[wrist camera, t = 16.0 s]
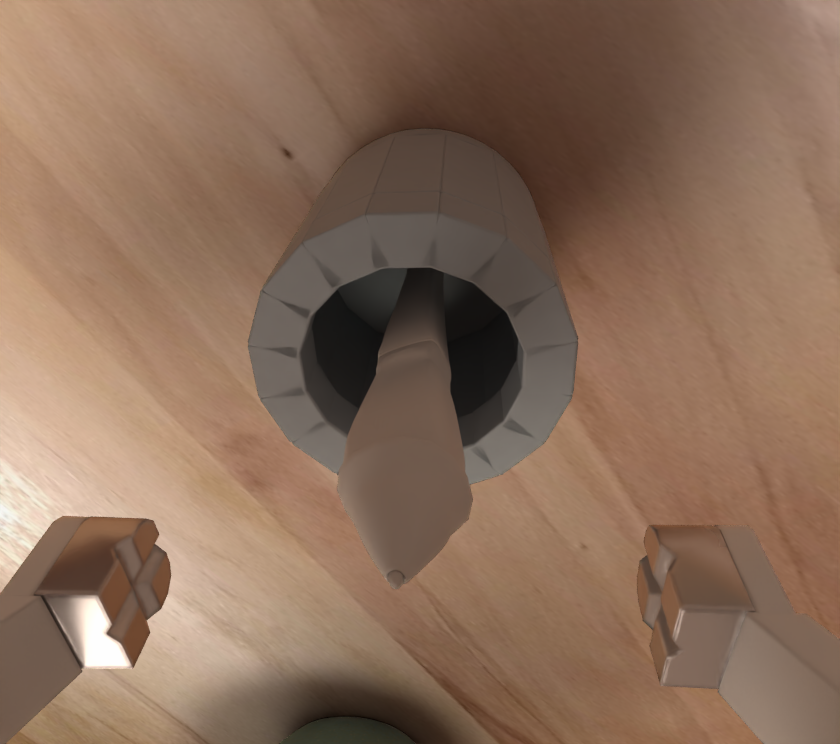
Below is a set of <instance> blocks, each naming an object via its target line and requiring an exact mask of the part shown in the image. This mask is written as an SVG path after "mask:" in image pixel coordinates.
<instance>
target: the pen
mask: <svg viewBox="0 0 840 744" xmlns="http://www.w3.org/2000/svg"><path fill="white" fill-rule="evenodd" d="M450 382H451V369H450V363H449V356H448V347H447V337H446V326H445V311H444V275H443V272H441V271H438V270H435V269H433V268H430V267H429V268H408V269H407V274H406V277H405V280H404V283H403V285H402V288H401V291H400V294H399V297H398V300H397V303H396V306H395V308H394V310H393V313H392V315H391V318H390V320H389V322H388V325H387V327H386V331H385V334H384V338H383V342H382V344H381V347H380V349H379V351H378V363H377V368H376V376H375V378H374V380H373V382H372V384H371V386H370V388H369V390H368V392H367V394H366V396H365V398H364V400H363V402H362V404H361V406H360V409H359V411H358V413H357V415H356V417H355V419H354V421H353V424H352V426H351V428H350V431H349V433H348V436H347V442H346V446H345V453H344V460H343V464H342V465H341V467H340V468H339V474H338V486H337V491H338V494H339V496H340V499H341V501H342V504H343V506H344V509H345V511H346V513H347V514H348V515H349V517H350V518H351V520H352V522H353V523H354V525H355V527H356V529H357V531H358V533H359V536H360V538H361V540H362V542H363V544H364V546H365V548H366V550H367V552H368V554H369V555H370V557H371V559H372V560H373V562H374V563H375V565H376V566H377V568H378V569H379V571H380V572H381V574H382V575H383V576H384V578H385V579H386V580H387V581H388V582H389V584H390V586H391V587H392V588H393V589H399V588H400V587H401V586H402V585H403V584H405V583H407V582H408V581H410V580H411V579H412V578H413V577H414V576H415V575H416V574H418V573H419V572H420V571H421V570H422V569H423V568H424V567H425V566H426V565H427V564H428V563H429V562H430V561H431V560H432V559H433V558H434V557H435V556H436V555H437V554H438V553H439V552H440V551H441V550H442V548H443V547H444V546H445V544H446V543H447V541H448V539H449V538H450V536H451V535H452V534H453V533H454V532H455V531H456V530H457V529H458V528H460V527H461V526H462V525H463V524H464V523H465V522H466V521H467V520H468V519H469V515H470V510H471V506H472V502H473V497H472V493H471V489H470V485H469V481H468V477H467V475H466V473H465V459H464V451H463V446H462V440H461V435H460V430H459V425H458V420H457V415H456V411H455V407H454V403H453V399H452V396H451V393H450Z"/></svg>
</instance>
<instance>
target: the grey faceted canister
mask: <svg viewBox="0 0 840 744" xmlns="http://www.w3.org/2000/svg"><path fill="white" fill-rule="evenodd" d="M429 267H430V268H433V269H435V270H438V271H441V272H443V275H444V311H445V326H446V337H447V347H448V356H449V363H450V369H451V382H450V393H451V396H452V399H453V403H454V407H455V411H456V415H457V420H458V425H459V430H460V435H461V440H462V446H463V451H464V459H465V473H466V475H467V477H468V481H469V485H470V484H473V483H477V482H480V481H483V480H486V479H490V478H493V477H496V476H498V475H499V474H500V475H502V474H504V473H505V472H506V471H508V470H509V469H510V468H512V467H513V466H514V465H516V464H517V463H518V462H520V461H521V460H523V459H524V458H525V457H527V456H528V455H529V454H531V453H532V452H533V451H535V450H536V449H537V448H539V447H540V446H541V445H543V444H544V442H546V440H547V439H548V437H549V435H550V434H551V432H552V430H553V429H554V427H555V425H556V424H557V422H558V420H559V419H560V417H561V415H562V414H563V412H564V410H565V409H566V407H567V405H568V404H569V402H570V400H571V399H572V394H573V391H574V381H575V370H576V360H577V350H578V336H577V333H576V330H575V327H574V323H573V320H572V317H571V314H570V311H569V308H568V304H567V301H566V298H565V295H564V292H563V289H562V285H561V282H560V279H559V276H558V273H557V269H556V266H555V263H554V260H553V257H552V254H551V250H550V247H549V244H548V241H547V238H546V234H545V231H544V228H543V226H542V223H541V220H540V218H539V215H538V213H537V210H536V207H535V203H534V200H533V198H532V196H531V194H530V191H529V189H528V187H527V186H526V184H525V183H524V181H523V180H522V178H521V176H520V175H519V174H518V172H517V171H516V170H515V169H514V168H513V167H512V165H511V164H510V163H509V162H508V161H507V160H506V159H504V158H503V157H502V156H501V155H500V154H499V153H498V152H496V151H495V150H493V149H492V148H490V147H488V146H487V145H485V144H484V143H482V142H480V141H478V140H476V139H473V138H471V137H469V136H466V135H463V134H460V133H456V132H453V131H447V130H441V129H423V128H422V129H412V130H404V131H400V132H396V133H392V134H389V135H387V136H384V137H382V138H379V139H377V140H375V141H373V142H371V143H369V144H368V145H366V146H364V147H362V148H361V149H360V150H358V151H357V152H356V153H355V154H353V155H352V156H351V157H350V158H349V159H348V160H347V161H346V162H345V163H344V164H343V165H342V166H341V167H340V168H339V169H338V171H337V172H336V173H335V175H334V176H333V177H332V179H331V180H330V182H329V183H328V184H327V186H326V187H325V188H324V189H323V190H322V192H321V193H320V195H319V196H318V198H317V199H316V201H315V203H314V204H313V206H312V208H311V209H310V211H309V212H308V214H307V216H306V217H305V219H304V221H303V222H302V224H301V225H300V227H299V229H298V230H297V232H296V234H295V235H294V237H293V238H292V240H291V242H290V243H289V245H288V247H287V248H286V250H285V251H284V253H283V255H282V256H281V258H280V260H279V261H278V263H277V264H276V266H275V268H274V269H273V271H272V273H271V274H270V276H269V277H268V279H267V281H266V282H265V284H264V286H263V288H262V290H261V292H260V296H259V299H258V303H257V307H256V311H255V315H254V319H253V323H252V327H251V331H250V335H249V339H248V349H249V354H250V359H251V363H252V368H253V373H254V377H255V382H256V387H257V391H258V396H259V398H260V400H261V402H262V403H263V404H264V406H265V407H266V409H267V410H268V411H269V413H270V414H271V416H272V417H273V419H274V420H275V421H276V423H277V424H278V426H279V427H280V428H281V430H282V431H283V433H284V434H285V435H286V437H287V438H288V440H289V441H290V442H292V443H293V444H294V445H295V446H296V447H298V448H299V449H301V450H302V451H303V452H305V453H306V454H308V455H309V456H311V457H312V458H314V459H315V460H316V461H318V462H319V463H321V464H322V465H324V466H325V467H326V468H328V469H329V470H331V471H332V472H334V473H337V475H338V474H339V468H340V467H341V465H342V464H343V460H344V453H345V446H346V442H347V436H348V433H349V431H350V428H351V426H352V424H353V421H354V419H355V417H356V415H357V413H358V411H359V409H360V406H361V404H362V402H363V400H364V398H365V396H366V394H367V392H368V390H369V388H370V386H371V384H372V382H373V380H374V378H375V376H376V368H377V363H378V351H379V349H380V347H381V344H382V342H383V338H384V334H385V331H386V327H387V325H388V322H389V320H390V318H391V315H392V313H393V310H394V308H395V306H396V303H397V300H398V297H399V294H400V291H401V288H402V285H403V283H404V280H405V277H406V274H407V269H408V268H429Z"/></svg>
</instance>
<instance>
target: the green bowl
mask: <svg viewBox="0 0 840 744" xmlns="http://www.w3.org/2000/svg"><path fill="white" fill-rule="evenodd" d="M280 744H415V743H414V742H413V741H412V740H411V739H410V738H409V737H408V736H407V735H406V734H404V733H403V732H401V731H400V730H398V729H396V728H394V727H392V726H390V725H387V724H385V723H382V722H379V721H375V720H371V719H366V718H360V717H331V718H325V719H320V720H317V721H314V722H311V723H309V724H307V725H305V726H303V727H301V728H300V729H298V730H296V731H295V732H293V733H292V734H291V735H290V736H288V737H287V738H286V739H284V740H283V741H282V742H281V743H280Z"/></svg>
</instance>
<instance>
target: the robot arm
mask: <svg viewBox="0 0 840 744" xmlns="http://www.w3.org/2000/svg"><path fill="white" fill-rule="evenodd" d="M158 536H159V532H158V530H157V528H156V525H155V523H154V521H153V520H149V519H140V518H115V517H77V516H62V517H60V518H59V519H57V520H55V521H54V522H53V523H52V524H51V525H50V527H49V528H48V529H47V531H46V532H45V534H44V535H43V536H42V538H41V539H40V540H39V542H38V543H37V544H36V546H35V547H34V549H33V550H32V551H31V553H30V554H29V555H28V557H27V558H26V559H25V561H24V562H23V564H22V565H21V566H20V568H19V569H18V570H17V572H16V573H15V574H14V576H13V577H12V578H11V580H10V581H9V583H8V584H7V585H6V587H5V588H4V589H3V591H2V592H1V593H0V744H6V743H7V742H8V741H9V740H10V739H11V738H12V737H13V736H14V735H15V734H16V733H17V732H18V731H19V730H21V729H22V728H23V727H24V726H25V725H26V724H27V723H28V722H29V721H30V720H31V719H32V718H33V717H34V716H36V715H37V714H38V713H39V712H40V711H41V710H42V709H43V708H44V707H45V706H46V705H47V704H48V703H49V702H50V701H52V700H53V699H54V698H55V697H56V696H57V695H58V694H59V693H60V692H61V691H62V690H63V689H64V688H65V687H67V686H68V685H69V684H70V683H71V682H72V681H73V680H74V679H75V678H76V677H77V676H78V675H79V674H80V673H81V672H82V669H133V668H134V666H135V663H136V661H137V659H138V657H139V655H140V653H141V651H142V649H143V647H144V644H145V642H146V640H147V638H148V636H149V634H150V630H149V626H148V623H147V620H148V619H149V618H150V617H151V616H153V615H154V614H155V613H156V612H158V611H159V610H160V609H161V608H162V606H163V603H164V601H165V599H166V597H167V594H168V590H169V585H170V579H171V570H170V562H169V559H168V556H167V553H166V552H165V551H163V550H162V549H161V548H159V547H158V546H157V545H156V544H155V542H156V540H157V538H158ZM644 546H645V549H646V552H647V556H645V557H644V558H643V559H642V560H640V561H639V567H638V573H637V594H638V601H639V607H640V611H641V615H642V619H643V621H644V622H645V623H646V624H647V625H648V626H649V627H650V628H651V629H652V630H653V633H652V637H651V642H650V650H651V653H652V657H653V661H654V664H655V668H656V672H657V675H658V679H659V683H660V686H674V687H691V688H708V689H719V690H718V693H719V694H720V695H721V696H722V697H723V699H724V700H725V701H726V702H727V703H728V704H729V705H730V706H731V708H732V709H733V710H734V711H735V712H736V713H737V714H738V716H739V717H740V718H741V719H742V720H743V721H744V722H745V724H746V725H747V726H748V727H749V728H750V729H751V730H752V731H753V733H754V734H755V735H756V736H757V737H758V738H759V739H760V741H761V742H762V743H763V744H840V639H839V638H837V637H836V636H835V635H833V634H832V633H831V632H829V631H828V630H827V629H825V628H824V627H823V626H822V625H820V624H819V623H818V622H816V621H815V620H814V619H812V618H811V617H810V616H809V615H807V614H800V613H795V611H794V609H793V607H792V605H791V603H790V601H789V599H788V597H787V595H786V593H785V591H784V589H783V587H782V585H781V583H780V581H779V579H778V577H777V575H776V573H775V571H774V569H773V567H772V565H771V563H770V561H769V559H768V557H767V555H766V553H765V551H764V549H763V547H762V545H761V543H760V542H759V540H758V538H757V536H756V534H755V532H754V530H753V529H752V528H750V527H749V526H748V525H715V526H712V525H649V526H648V528H647V530H646V533H645V537H644Z"/></svg>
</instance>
